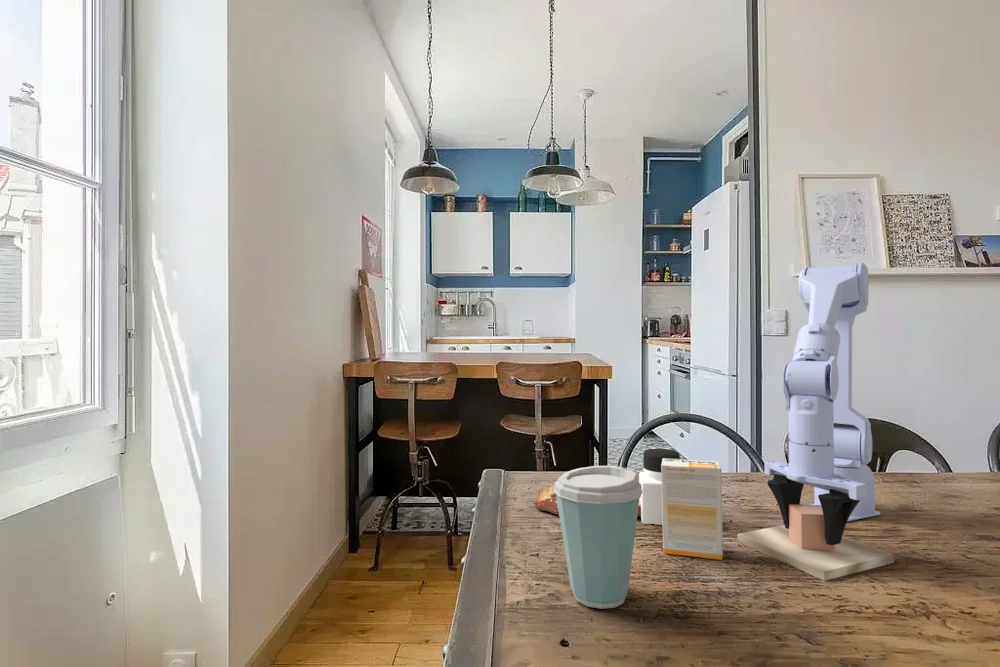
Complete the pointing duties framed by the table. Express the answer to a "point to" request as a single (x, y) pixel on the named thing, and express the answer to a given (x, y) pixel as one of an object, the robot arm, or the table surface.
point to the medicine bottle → (653, 484)
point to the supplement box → (692, 508)
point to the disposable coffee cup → (598, 531)
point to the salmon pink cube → (808, 527)
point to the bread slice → (549, 502)
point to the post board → (816, 553)
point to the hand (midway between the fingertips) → (811, 535)
